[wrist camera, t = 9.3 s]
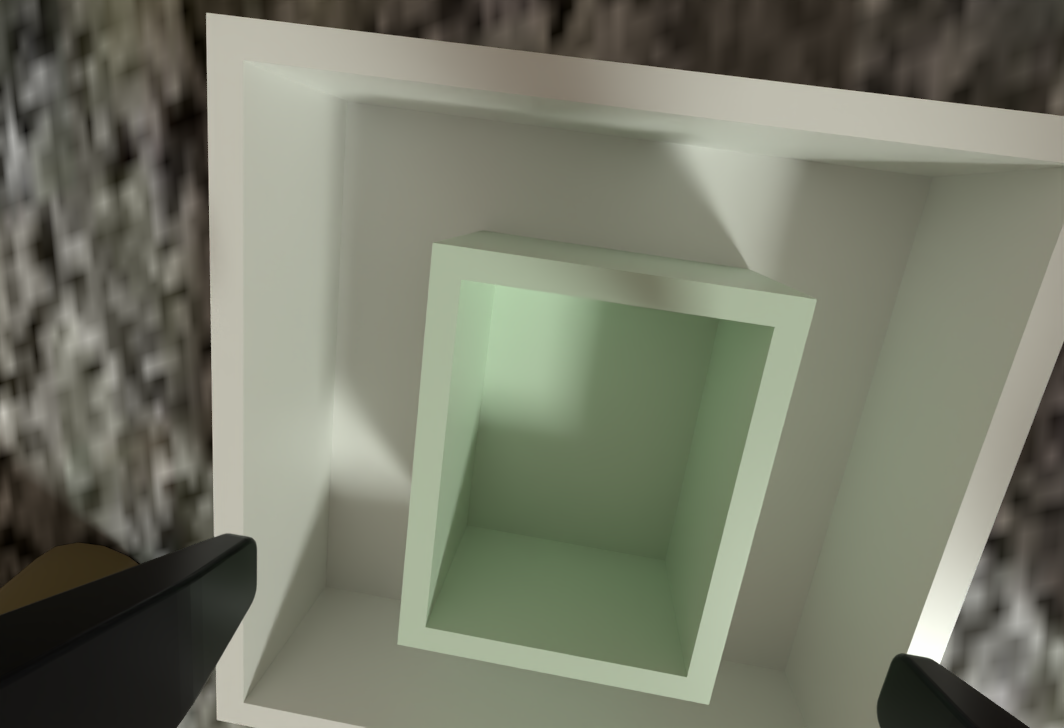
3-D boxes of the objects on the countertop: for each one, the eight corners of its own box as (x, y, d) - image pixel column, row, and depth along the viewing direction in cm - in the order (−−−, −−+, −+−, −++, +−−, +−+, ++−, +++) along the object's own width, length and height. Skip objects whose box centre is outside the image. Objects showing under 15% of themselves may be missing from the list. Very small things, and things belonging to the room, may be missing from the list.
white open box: (953, 153, 15) (1146, 126, 10) (793, 674, 19) (867, 851, 14) (334, 74, 16) (206, 12, 11) (315, 585, 20) (216, 719, 15)
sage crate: (749, 269, 15) (817, 299, 11) (678, 569, 18) (709, 704, 13) (482, 230, 16) (432, 242, 11) (449, 528, 18) (397, 644, 14)
